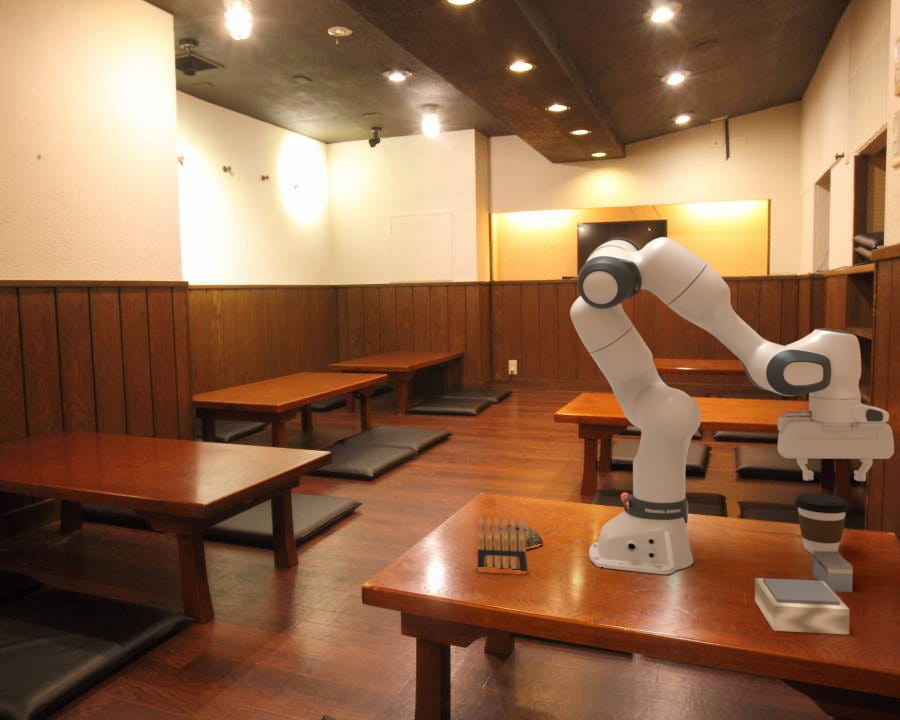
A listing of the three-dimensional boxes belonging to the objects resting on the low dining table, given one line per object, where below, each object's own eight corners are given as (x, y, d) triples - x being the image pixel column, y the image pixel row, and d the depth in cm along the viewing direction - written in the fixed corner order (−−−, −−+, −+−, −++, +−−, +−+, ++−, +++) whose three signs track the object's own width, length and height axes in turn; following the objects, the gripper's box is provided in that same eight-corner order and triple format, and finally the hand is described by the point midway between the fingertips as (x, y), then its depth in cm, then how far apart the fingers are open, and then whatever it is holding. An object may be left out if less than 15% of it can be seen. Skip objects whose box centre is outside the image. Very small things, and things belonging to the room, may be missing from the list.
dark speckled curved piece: (549, 548, 160) (548, 528, 160) (502, 557, 155) (502, 536, 155) (523, 532, 172) (522, 513, 171) (478, 540, 167) (478, 520, 167)
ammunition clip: (477, 572, 146) (475, 518, 145) (478, 569, 148) (477, 515, 147) (526, 575, 144) (525, 520, 143) (527, 571, 146) (526, 517, 145)
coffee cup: (860, 558, 147) (861, 504, 146) (812, 561, 146) (813, 507, 145) (828, 541, 158) (829, 491, 157) (783, 544, 157) (784, 493, 156)
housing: (827, 591, 132) (827, 565, 131) (812, 575, 140) (812, 550, 139) (852, 592, 131) (852, 566, 131) (836, 576, 139) (836, 551, 138)
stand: (773, 630, 117) (773, 602, 116) (754, 600, 128) (755, 575, 128) (849, 634, 115) (849, 605, 114) (823, 603, 126) (823, 577, 126)
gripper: (782, 413, 131) (782, 483, 132) (898, 413, 128) (897, 485, 129) (773, 408, 138) (772, 475, 139) (883, 407, 134) (882, 476, 135)
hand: (833, 480), depth 134 cm, fingers open, 8 cm apart
